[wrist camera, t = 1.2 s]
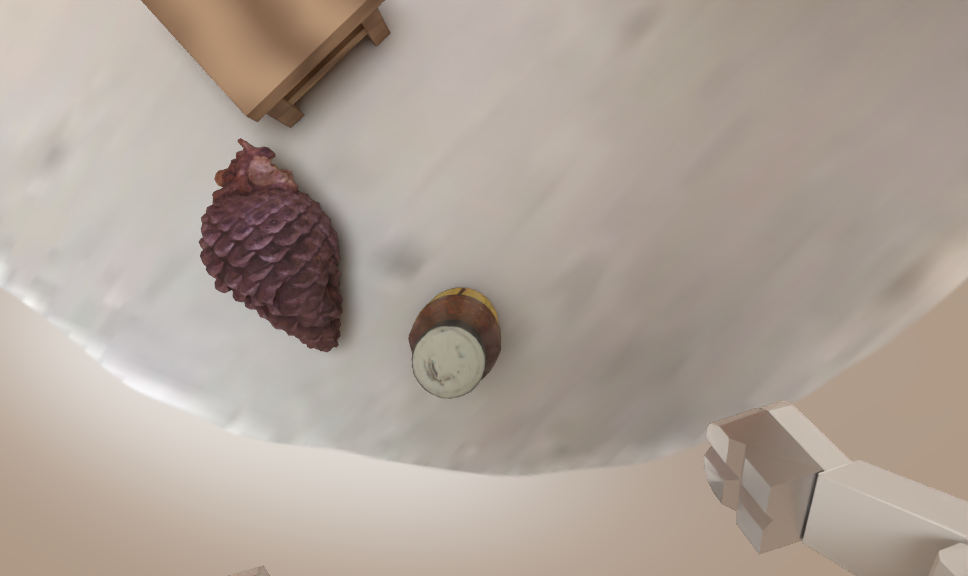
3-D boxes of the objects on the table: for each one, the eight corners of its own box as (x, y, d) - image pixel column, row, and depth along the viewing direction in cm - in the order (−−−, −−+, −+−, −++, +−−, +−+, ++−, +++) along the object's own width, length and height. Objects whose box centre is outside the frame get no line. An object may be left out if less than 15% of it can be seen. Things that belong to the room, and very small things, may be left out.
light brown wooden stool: (297, -83, 52) (253, -154, 43) (402, 33, 52) (380, -13, 43) (186, 25, 53) (121, -22, 44) (290, 139, 53) (246, 115, 44)
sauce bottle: (422, 353, 53) (371, 411, 34) (431, 281, 53) (385, 297, 33) (497, 363, 53) (491, 428, 33) (507, 291, 53) (506, 313, 33)
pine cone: (392, 319, 53) (366, 334, 43) (290, 368, 54) (241, 394, 44) (300, 133, 53) (252, 104, 43) (198, 185, 53) (127, 169, 43)
